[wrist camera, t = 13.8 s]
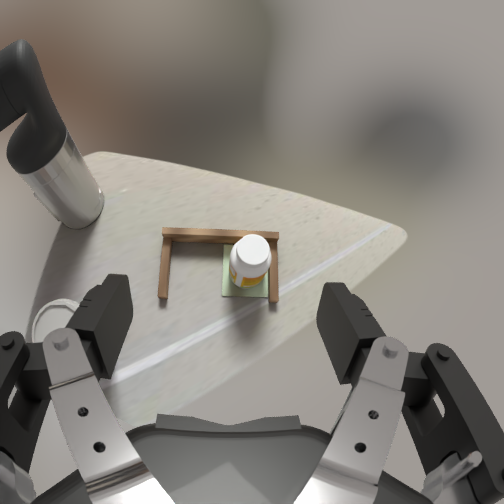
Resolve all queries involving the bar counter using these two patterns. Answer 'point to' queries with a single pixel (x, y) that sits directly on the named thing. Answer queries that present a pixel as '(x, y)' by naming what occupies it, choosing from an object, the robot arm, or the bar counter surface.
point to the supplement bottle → (249, 261)
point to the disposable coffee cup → (52, 318)
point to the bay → (228, 237)
